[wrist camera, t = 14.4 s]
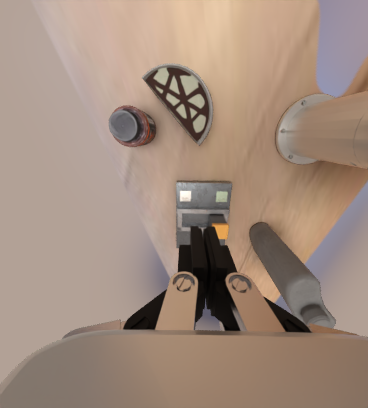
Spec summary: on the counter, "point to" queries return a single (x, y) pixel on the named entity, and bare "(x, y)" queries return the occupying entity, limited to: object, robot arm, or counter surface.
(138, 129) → the supplement bottle
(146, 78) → the food container
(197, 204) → the panel
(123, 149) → the counter surface
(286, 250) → the flask
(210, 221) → the lever
